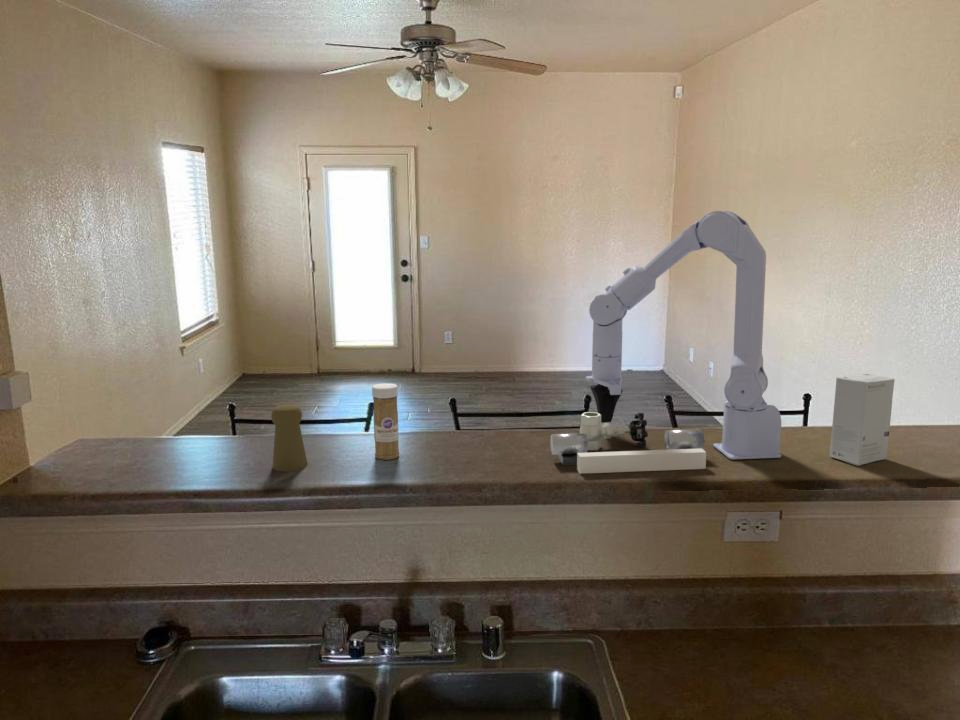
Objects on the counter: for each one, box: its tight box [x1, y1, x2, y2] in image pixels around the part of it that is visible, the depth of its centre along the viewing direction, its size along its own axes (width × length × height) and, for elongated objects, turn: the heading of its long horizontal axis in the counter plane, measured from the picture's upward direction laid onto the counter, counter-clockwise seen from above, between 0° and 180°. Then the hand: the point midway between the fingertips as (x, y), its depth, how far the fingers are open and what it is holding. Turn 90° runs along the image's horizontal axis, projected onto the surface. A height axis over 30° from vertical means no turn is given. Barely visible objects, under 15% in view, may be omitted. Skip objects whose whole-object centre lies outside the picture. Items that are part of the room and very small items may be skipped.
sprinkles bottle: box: [371, 382, 400, 460], centre depth 126 cm, size 5×5×13 cm
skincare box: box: [829, 373, 895, 467], centre depth 123 cm, size 8×6×15 cm
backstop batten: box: [576, 448, 707, 475], centre depth 119 cm, size 22×2×3 cm, turn 95°
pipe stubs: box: [550, 428, 705, 466], centre depth 124 cm, size 27×4×5 cm, turn 95°
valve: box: [579, 411, 649, 451], centre depth 131 cm, size 7×7×12 cm
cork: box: [270, 403, 309, 473], centre depth 122 cm, size 6×6×11 cm
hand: (605, 421), depth 139 cm, fingers closed
